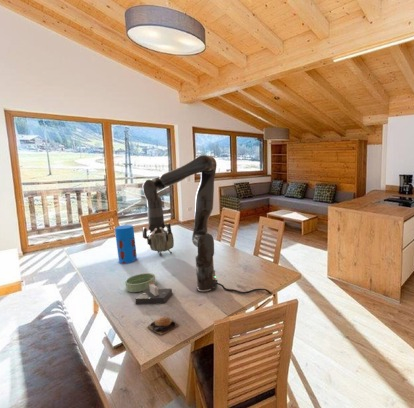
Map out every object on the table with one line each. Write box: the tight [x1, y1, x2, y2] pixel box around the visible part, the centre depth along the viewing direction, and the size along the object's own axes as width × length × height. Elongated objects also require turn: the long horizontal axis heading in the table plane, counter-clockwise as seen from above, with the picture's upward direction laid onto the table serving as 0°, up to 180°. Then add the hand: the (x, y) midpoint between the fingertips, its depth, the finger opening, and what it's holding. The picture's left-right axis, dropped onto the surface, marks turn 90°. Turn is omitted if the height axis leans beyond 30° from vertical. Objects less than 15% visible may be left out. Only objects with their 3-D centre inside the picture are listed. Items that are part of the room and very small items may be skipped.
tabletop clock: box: [149, 229, 175, 257], centre depth 207 cm, size 14×9×25 cm, turn 79°
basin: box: [124, 272, 157, 293], centre depth 159 cm, size 15×15×5 cm
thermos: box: [114, 224, 138, 265], centre depth 195 cm, size 11×11×25 cm
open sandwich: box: [147, 316, 178, 336], centre depth 122 cm, size 11×8×4 cm
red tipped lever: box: [149, 283, 159, 296], centre depth 145 cm, size 7×2×5 cm, turn 50°
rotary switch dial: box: [135, 287, 173, 305], centre depth 146 cm, size 14×11×3 cm
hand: (158, 243), depth 155 cm, fingers open, 8 cm apart
